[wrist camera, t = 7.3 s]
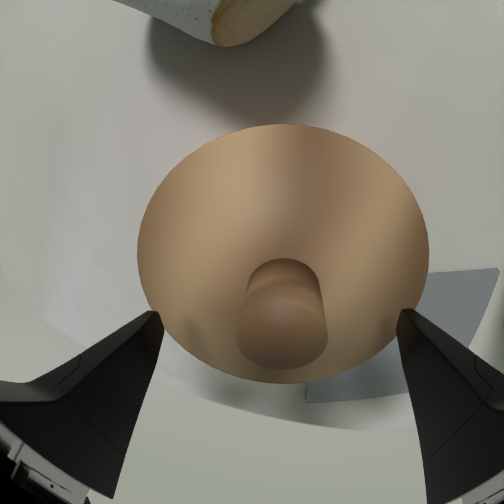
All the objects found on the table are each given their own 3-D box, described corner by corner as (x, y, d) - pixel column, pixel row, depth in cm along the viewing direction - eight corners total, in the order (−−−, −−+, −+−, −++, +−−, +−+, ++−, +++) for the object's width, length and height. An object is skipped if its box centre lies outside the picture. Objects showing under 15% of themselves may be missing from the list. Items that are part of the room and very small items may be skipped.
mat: (497, 268, 15) (500, 271, 15) (446, 379, 21) (447, 383, 21) (315, 278, 17) (316, 282, 17) (305, 398, 23) (305, 402, 23)
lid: (437, 133, 8) (493, 144, 5) (390, 368, 14) (403, 416, 10) (118, 147, 10) (60, 163, 7) (178, 369, 15) (160, 415, 12)
